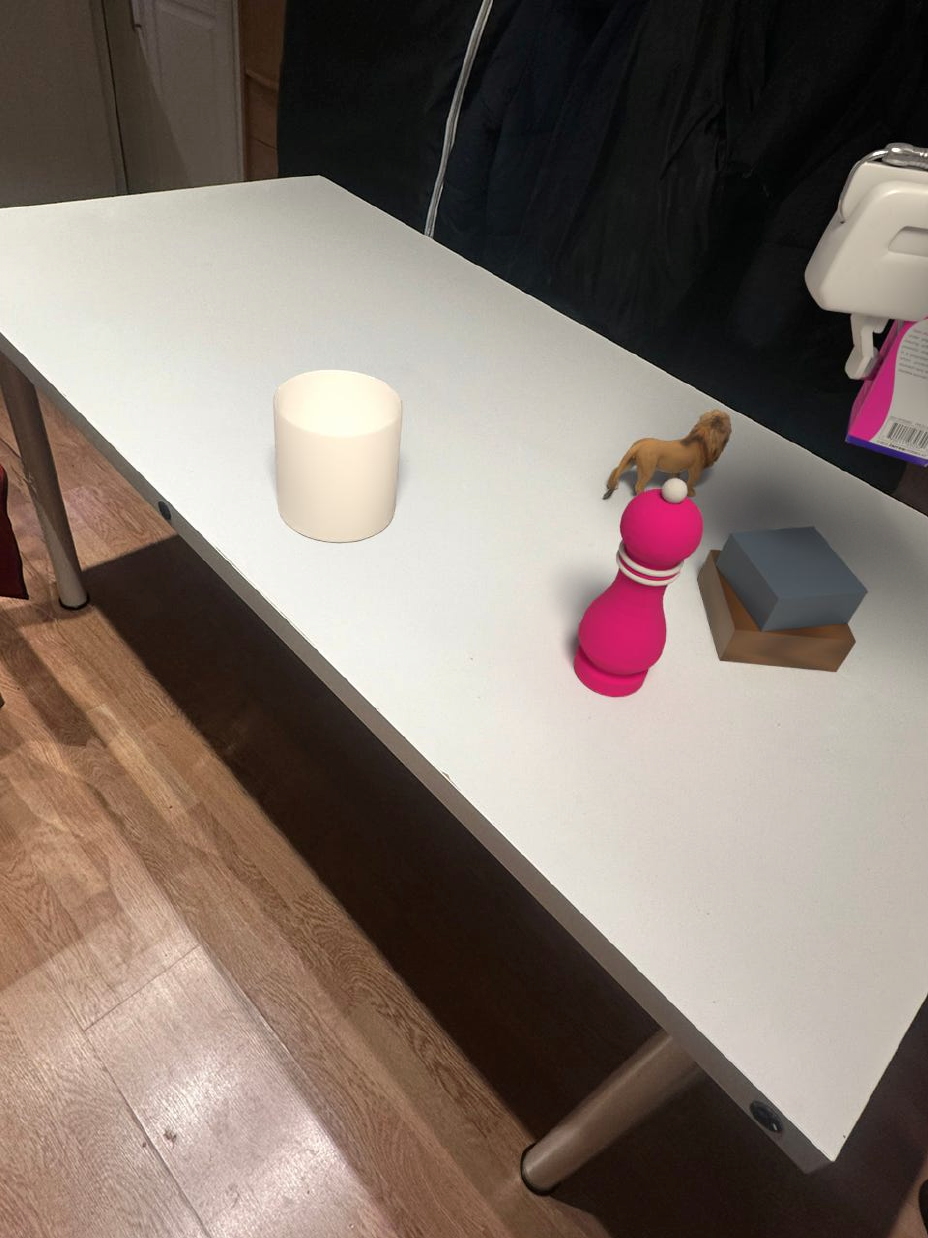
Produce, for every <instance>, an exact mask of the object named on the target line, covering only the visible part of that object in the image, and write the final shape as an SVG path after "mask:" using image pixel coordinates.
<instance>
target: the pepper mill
mask: <svg viewBox="0 0 928 1238" xmlns="http://www.w3.org/2000/svg"><path fill="white" fill-rule="evenodd" d="M687 491H688V490H687V486H686V482H685V481H683V480H682V479H680V478H679V479H677V478H673V479H670V480H669V479H668V480H666V481H665V482H664V484H663V485H662V487H661V488H650V489H646V490H644V492H642V493H640V494H638V495H637V494H636V495H635V496H634V497H633V498H632V499H631V500H630V501H629V502H628V503H627V504H626V507H625V508H624V510H623V512H622V514H621V517H620V522H619V533H620V537H621V540H620V542H619V545H618V550H617V551H616V554H615V563H616V564H617V566H618V570H617V572H616V575H615V578H614V580H613V581H612V583H611V584H610V585H609V586H608V587H607V588H606V589H605V590H604V591H603V592H601V593H600V594H599V595H598V596H597V597H596V598H594V600H592V602H591V603H590V604H589V605H588V606H587V608H586V609H585V611H584V613H583V614H582V617H581V619H580V622H579V624H578V630H577V637H578V641H579V644H578V647H577V649H576V652H575V656H574V658H573V667H574V671H575V674H576V676H577V677H578V679H579V680H580V681H581V682H582V683H583V685H585V686H586V687H587V688H588V689H590V690H592V691H593V692H595V693H598V694H600V695H603V696H608V697H613V698H618V697H620V698H621V697H622V698H623V697H627V696H630V695H633V694H635V693H636V692H637V691H639V690H640V689H641V688H642V686H643V685H644V682H645V681H646V678H647V676H648V672H649V670H650V668H652V667H653V666H654V665H655V664H656V663H657V662H658V661H659V660H660V658H661V657H662V655H663V652H664V649H665V645H666V643H667V633H668V632H667V631H668V629H667V621H666V614H665V609H664V597H665V593H666V590H667V588H668V586H669V585H670V584H672V583H673V582H675V581H676V580H677V579H678V578H679V577H680V575H681V571H682V569H683V568H684V566H685V561H686V560H687V559H688V558H690V557H691V556H692V555H693V554H694V553H695V552H696V550H697V549H698V547H699V546H700V544H701V541H702V538H703V533H704V520H703V515H702V512H701V511H700V508H699V507H698V505H697V504H696V503H695V502H694V501H693V500H692V498H690V497H688V495H687Z"/></svg>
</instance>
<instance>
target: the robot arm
mask: <svg viewBox="0 0 928 1238" xmlns="http://www.w3.org/2000/svg"><path fill="white" fill-rule="evenodd" d="M880 158H881V161H875V160H877V159H880ZM804 282H805V285H806V287H807V290H808V292H809V293H810V295H811V297H812V298H813V300H814V301H815V303H816V304H817V305H818V306H819V307H820V308H821V309H822V310H825V311H830V312H837V313H844V314H851V315H850V324H851V332H852V333H851V334H852V341H853V342H852V343H853V345H854V346H853V348H852V350H851V352H850V354H849V357H848V359H847V360H846V362H845V366H844V372H845V373H846V374H847V376H848V378H849V379H851V380H855V381H856V380H859V381H865V380H867V381H873V380H874V379H875V377H876V375H877V374H876V371H877V370H879V369H880V367H881V365H882V363H883V361H884V358H883V357H882V355H880V354H879V352H880V350H878V349H877V347H875V346H874V337H873V336H874V335H873V333H874V334H881V333H883V332H884V329H885V327H886V326H887V324H888V322H889V320H895V319H896V320H903V321H911V322H918V321H922V320H923V319H924V318H926V317H927V316H928V148H924V147H917V146H914V145H912V144H909V143H905V142H893V143H888V144H887V145H886V146H885V147H884V148H883V149H877V150H875V151H872V152H870V153H868V154H866V155H865V156H864V157H862V158H861V160H859V161H857V162H856V163H855V164H854V165H853V166H852V169H850V172H849V174H848V176H847V179H846V181H845V184H844V185H843V189H842V190H841V193H840V196H839V200H838V205H837V210H836V211H835V213H834V215H833V216H832V218H831V220H830V221H829V223H828V225H827V226H826V228H825V230H824V231H823V233H822V236H821V238H820V239H819V241H818V243H817V245H816V247H815V249H814V251H813V252H812V255H811V258H810V260H809V262H808V263H807V266H806V268H805V271H804Z"/></svg>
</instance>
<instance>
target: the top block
mask: <svg viewBox="0 0 928 1238" xmlns="http://www.w3.org/2000/svg"><path fill="white" fill-rule="evenodd" d="M721 550H722V551H721V553H720V555H719V558H718V560H717V562H716V566H717V568H718V569H719V571H720V572H721V574H722V575H723V576H724V578H725V579H726V581H727V582H728V584H729V585H730V587H731V588H732V590H733V591H734V593H735V594H736V596H737V597H738V598H739V600H740V601H741V603H742V604H743V606H744V607H745V609H746V610H747V612H748V613H749V615H750V616H751V618H752V619H753V621H754V622H755V623H756V625H757V626H758V628H759V629H760V631H761V632H766V631H776V630H786V629H795V628H805V627H815V626H825V625H835V624H844V623H848V624H849V623H850V621H851V619H852V617H853V616H854V614H855V613H856V612H857V610H858V608H859V607H860V605H861V603H862V602H863V601H864V598H865V597H866V596H867V594H868V593H869V590H868V588H866V586H865V585H864V583H862V582H861V580H860V579H859V578H858V577H857V575H856V574H855V573H854V572H853V571H852V569H851V568H850V567H849V565H847V564H846V562H845V561H844V560H843V559H842V558H841V556H840V555H839V554H838V553H837V552H836V550H834V548H833V547H832V546H831V545H830V544H829V542H828V541H827V540H826V539H825V537H824V536H823V535H822V534H821V533H820V532H819V530H818V529H817V528H816V527H815V526H814V525H813V526H811V525H810V526H799V527H783V528H768V529H767V528H765V529H751V530H737V531H729V533H728V534H727V538H726V540H725V542H724V544H723V547H722V548H721Z"/></svg>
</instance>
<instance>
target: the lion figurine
mask: <svg viewBox="0 0 928 1238" xmlns="http://www.w3.org/2000/svg"><path fill="white" fill-rule="evenodd" d="M732 433H733V428H732V422H731V416H730V415H729V414H727V412H725V411H722V410H720V409H716V408H715V409H713V410H711V411H706V412H704V413H702V414H700V415H699V418H698V421H697V422H696V423H695V424H694V425H693V428H692V429H691V430H690V432H689V433H688V434H687V435H686V436H685V437H684V438H679V439H675V440H661V439H657V438H654V437H644V438H641V439H638V440H636V441H635V442H633V443H632V444H631V446H630V448H629V449H628V450H627V451H626V453H625V454H624V455H623V457H622V459H621V460H620V462H619V464H618V466H617V467H615V468H614V469H613V470H612V471H611V473H610V476H609V478H608V480H607V483H606V485H607V487H608V490H607V491H606V493H604V495H603V498H605V499H607V498H610V497H611V496H612V495H613V494H614V491H615V490H617V489H618V488H619V486H620V485H619V479H620V477H621V475H623V474H624V473H626V472H627V471H629V470H631V469H633V468H634V467H636V473H637V481H636V483H635V485H634V487H633V488H634V491H635V493H636V495H638V494H640V493H642V492H644V491H645V487H646V486H647V484H648V483H649V481H650V480H651V478H653V476H654V474H655V471H656V470H657V471H660V472H663V473H667V474H670V475H669V477H668V480H670V479H673V478H677V479H680V475H681V473H682V472H685V471H687V474H688V478H687V481H686V482H685V484H686V486H687V490H688V491H687V495H686V496H687V497H688V496H689V497H691V498H693V497H695V496H696V490H695V489H694V487H695V486H696V484H697V482H698V481H699V480H700V478H701V475H702V472H703V470H706V469H708V468H710V467H712V466H714V464H715V463H716V462H718V461H719V459H720V457H721V455H722V453H723V452H724V451H725V448H726V447H727V444H728V443H729V441H730V437H731V434H732Z"/></svg>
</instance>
